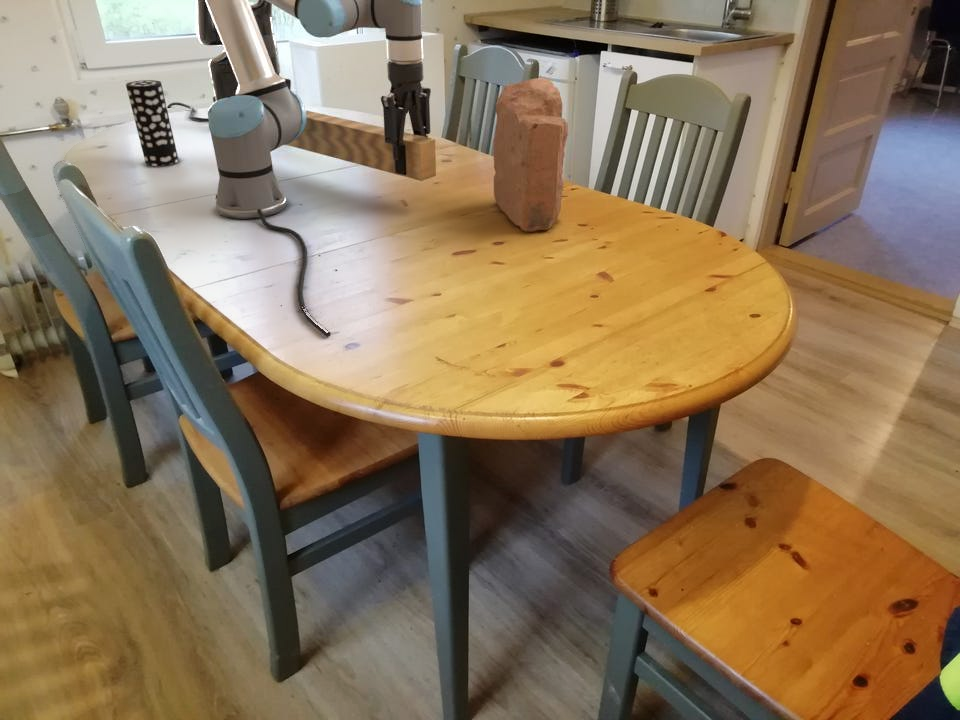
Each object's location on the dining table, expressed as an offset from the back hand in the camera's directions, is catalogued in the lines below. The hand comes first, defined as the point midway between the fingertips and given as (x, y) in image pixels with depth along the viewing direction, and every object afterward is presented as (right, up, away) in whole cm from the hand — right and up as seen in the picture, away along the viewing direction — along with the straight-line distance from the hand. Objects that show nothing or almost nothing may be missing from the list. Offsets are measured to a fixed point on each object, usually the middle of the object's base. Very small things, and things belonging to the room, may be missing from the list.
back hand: (272, 123), depth 179 cm
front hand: (+38, -18, -23) cm, 48 cm away
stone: (+65, -29, -23) cm, 75 cm away
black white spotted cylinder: (-32, +1, +2) cm, 32 cm away
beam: (+19, -11, -10) cm, 24 cm away
